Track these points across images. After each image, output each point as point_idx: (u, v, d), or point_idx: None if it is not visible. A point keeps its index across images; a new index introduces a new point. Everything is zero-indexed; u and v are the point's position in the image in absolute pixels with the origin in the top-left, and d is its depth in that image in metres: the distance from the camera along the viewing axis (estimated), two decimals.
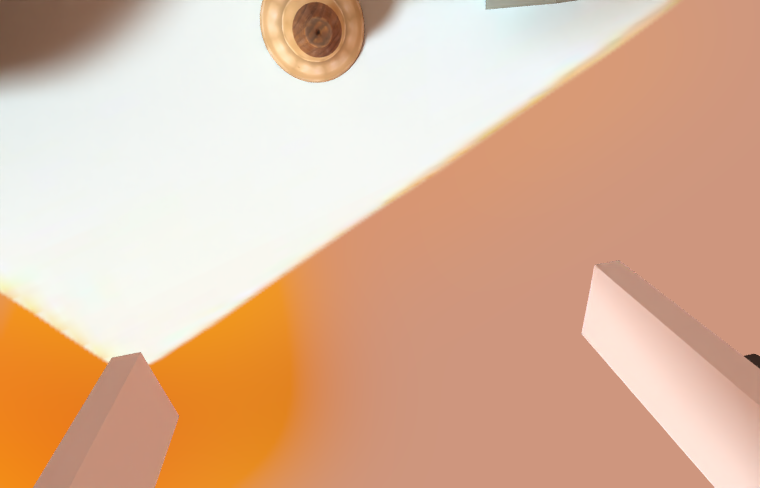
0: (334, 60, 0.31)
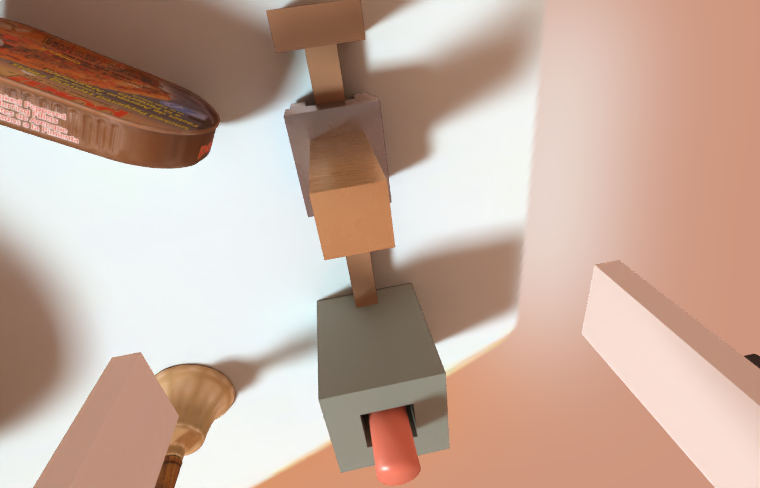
0: None
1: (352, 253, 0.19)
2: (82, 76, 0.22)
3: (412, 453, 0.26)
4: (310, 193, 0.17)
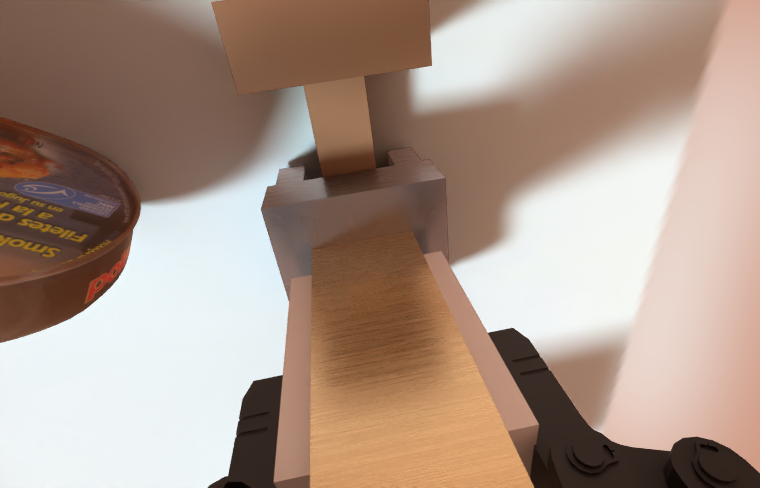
0: None
1: None
2: None
3: None
4: None
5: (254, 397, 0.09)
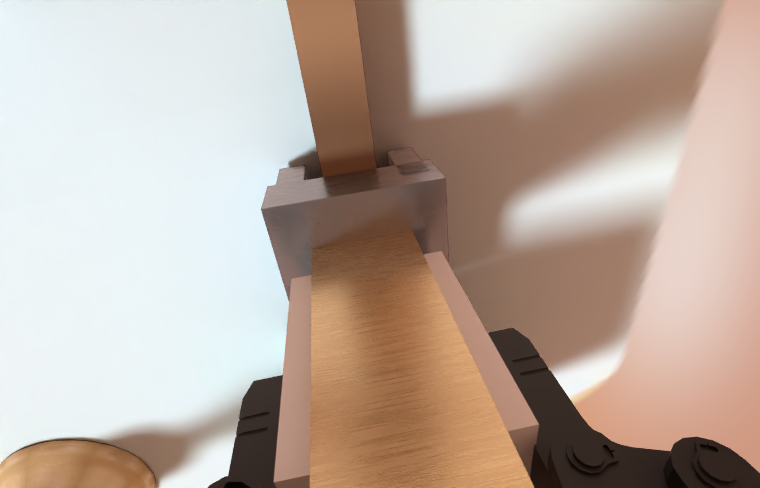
0: None
1: None
2: None
3: None
4: None
5: (254, 397, 0.09)
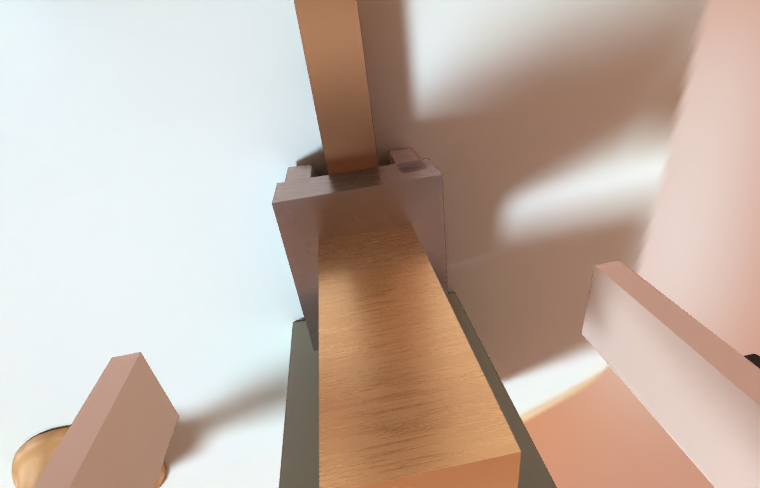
0: None
1: None
2: None
3: None
4: None
5: None
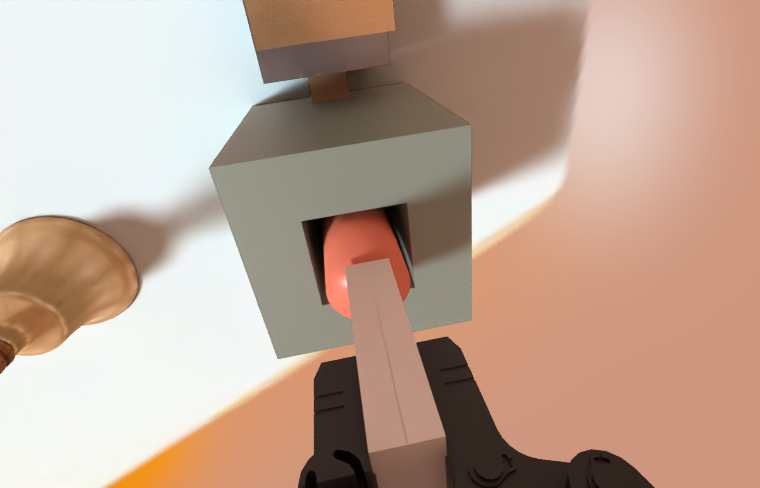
0: (87, 322, 0.25)
1: (311, 39, 0.10)
2: None
3: (395, 251, 0.14)
4: None
5: (326, 377, 0.10)
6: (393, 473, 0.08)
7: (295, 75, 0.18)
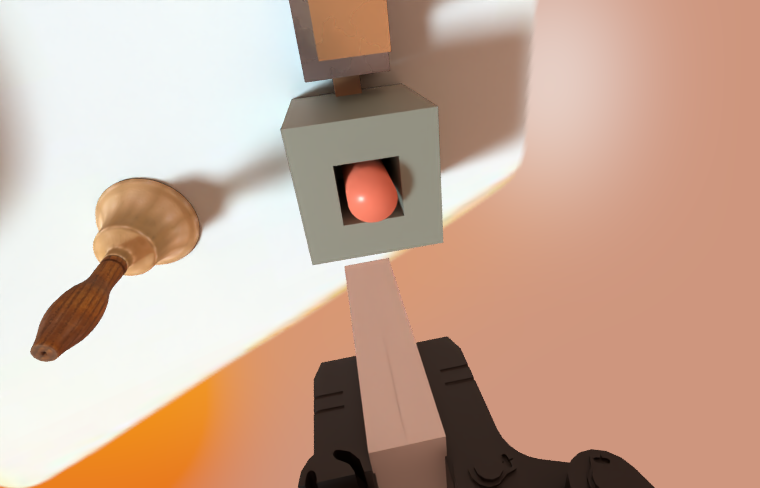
0: (164, 258, 0.34)
1: (347, 55, 0.18)
2: None
3: (388, 178, 0.23)
4: None
5: (326, 378, 0.10)
6: (393, 473, 0.08)
7: (326, 77, 0.27)
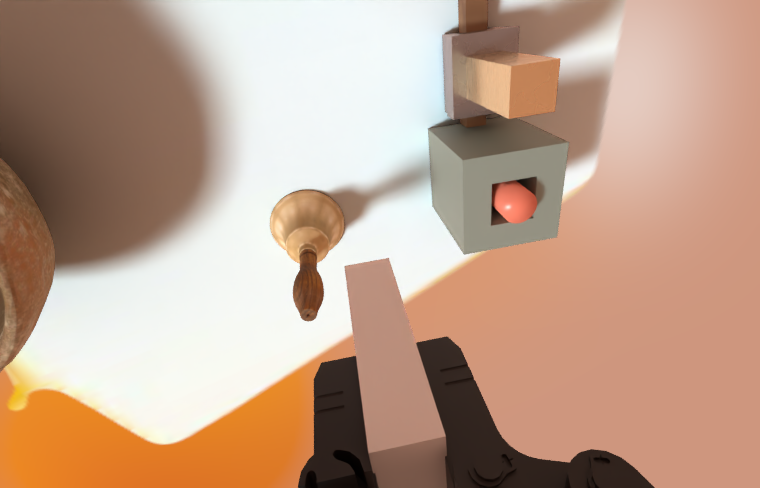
0: None
1: (527, 114, 0.28)
2: None
3: None
4: (511, 66, 0.26)
5: (325, 378, 0.10)
6: (393, 472, 0.08)
7: (469, 115, 0.37)
